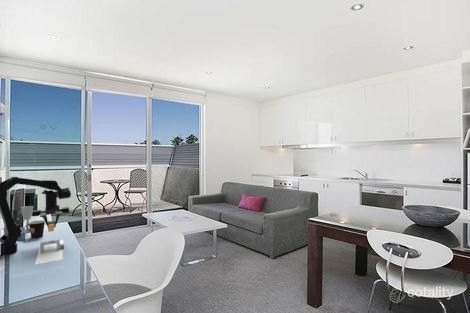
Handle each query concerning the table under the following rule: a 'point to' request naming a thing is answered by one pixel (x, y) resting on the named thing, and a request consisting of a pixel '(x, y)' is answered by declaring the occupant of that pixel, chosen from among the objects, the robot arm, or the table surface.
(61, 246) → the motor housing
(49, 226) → the plug
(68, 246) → the table surface
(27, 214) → the chalice
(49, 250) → the mount plate
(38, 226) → the coffee mug
